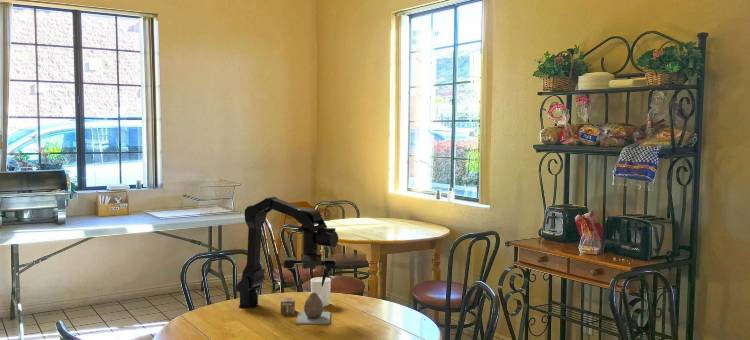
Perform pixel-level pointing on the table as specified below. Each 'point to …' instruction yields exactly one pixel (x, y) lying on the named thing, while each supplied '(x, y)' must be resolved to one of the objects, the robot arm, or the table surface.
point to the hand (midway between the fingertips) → (309, 286)
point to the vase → (313, 306)
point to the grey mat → (305, 320)
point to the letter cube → (287, 305)
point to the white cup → (321, 289)
